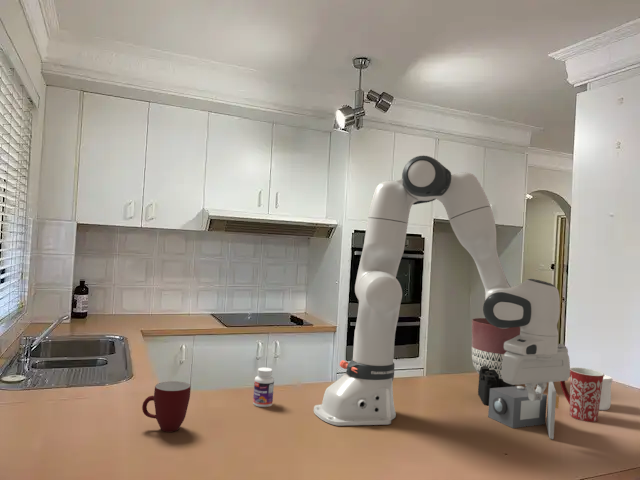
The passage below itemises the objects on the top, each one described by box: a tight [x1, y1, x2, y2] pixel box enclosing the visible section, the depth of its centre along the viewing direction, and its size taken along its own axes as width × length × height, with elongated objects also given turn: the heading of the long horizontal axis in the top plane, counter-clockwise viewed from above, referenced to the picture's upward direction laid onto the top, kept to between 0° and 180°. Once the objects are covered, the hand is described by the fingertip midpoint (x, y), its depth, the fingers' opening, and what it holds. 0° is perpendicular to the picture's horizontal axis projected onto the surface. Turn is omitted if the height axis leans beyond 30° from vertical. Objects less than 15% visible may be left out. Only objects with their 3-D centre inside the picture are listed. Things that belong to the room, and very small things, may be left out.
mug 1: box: [141, 380, 191, 433], centre depth 119 cm, size 11×8×10 cm
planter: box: [471, 317, 520, 379], centre depth 184 cm, size 20×20×21 cm
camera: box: [477, 365, 516, 407], centre depth 160 cm, size 14×11×10 cm
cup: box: [599, 374, 613, 411], centre depth 161 cm, size 10×10×10 cm
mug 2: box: [559, 367, 605, 423], centre depth 150 cm, size 13×9×14 cm
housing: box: [487, 385, 548, 429], centre depth 141 cm, size 13×9×9 cm
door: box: [545, 382, 560, 440], centre depth 134 cm, size 13×2×12 cm, turn 160°
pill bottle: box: [252, 367, 275, 408], centre depth 141 cm, size 5×5×10 cm
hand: (535, 399), depth 128 cm, fingers closed
